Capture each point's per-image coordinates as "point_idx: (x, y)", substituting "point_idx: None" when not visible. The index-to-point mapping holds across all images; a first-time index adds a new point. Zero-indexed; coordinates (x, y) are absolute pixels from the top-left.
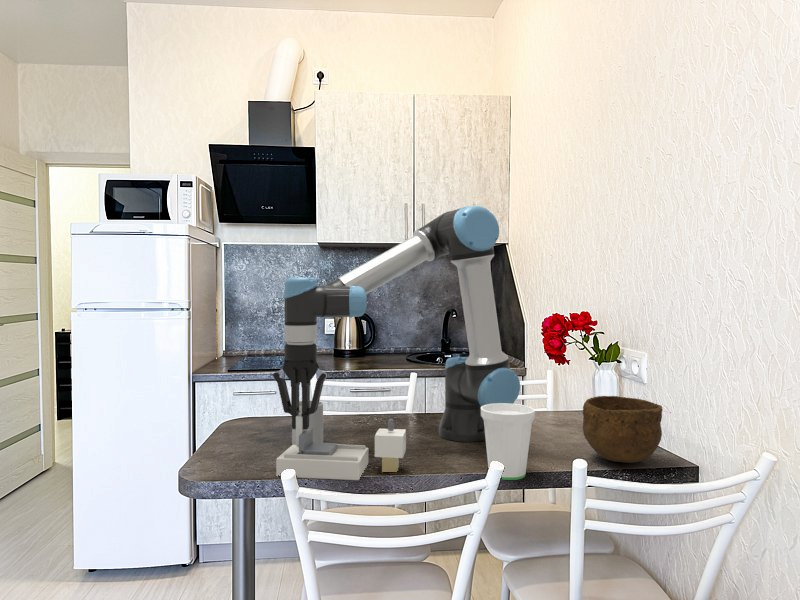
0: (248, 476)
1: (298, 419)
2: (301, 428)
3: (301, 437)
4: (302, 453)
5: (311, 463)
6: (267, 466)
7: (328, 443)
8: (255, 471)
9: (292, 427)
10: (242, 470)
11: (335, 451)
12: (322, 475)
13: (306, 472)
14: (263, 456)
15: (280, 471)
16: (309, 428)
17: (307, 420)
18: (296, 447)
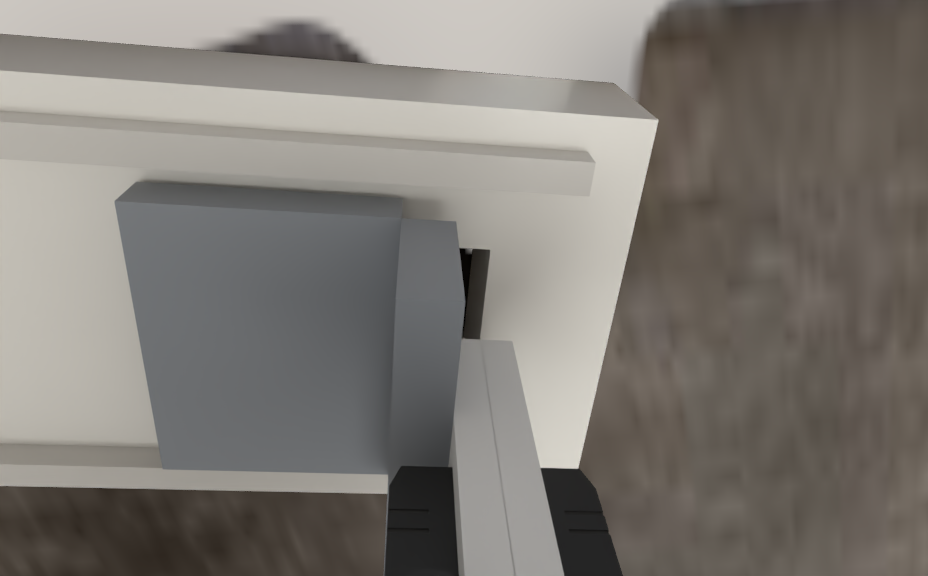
0: (832, 70)
1: (518, 553)
2: (462, 452)
3: (428, 290)
4: None
5: (299, 84)
6: (704, 299)
7: (237, 456)
8: (782, 190)
9: (586, 484)
10: (877, 205)
11: None
12: (216, 57)
13: (359, 71)
14: (745, 471)
15: (589, 91)
16: None
17: (386, 562)
18: None
